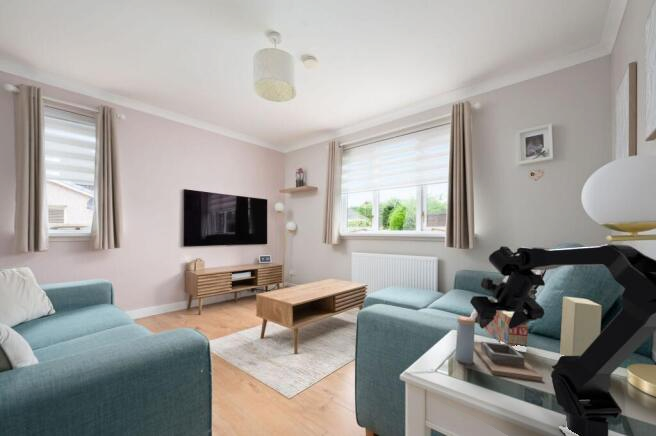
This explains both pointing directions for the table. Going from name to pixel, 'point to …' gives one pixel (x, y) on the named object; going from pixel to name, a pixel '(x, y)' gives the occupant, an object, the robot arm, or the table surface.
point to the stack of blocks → (507, 330)
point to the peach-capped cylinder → (465, 339)
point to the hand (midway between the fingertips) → (495, 327)
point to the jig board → (505, 361)
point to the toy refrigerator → (579, 325)
